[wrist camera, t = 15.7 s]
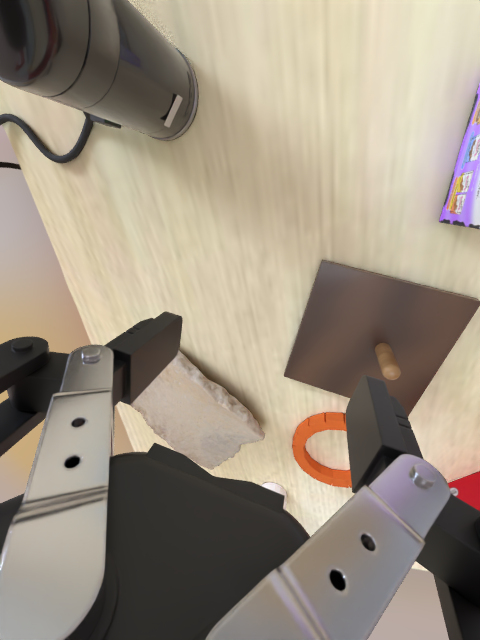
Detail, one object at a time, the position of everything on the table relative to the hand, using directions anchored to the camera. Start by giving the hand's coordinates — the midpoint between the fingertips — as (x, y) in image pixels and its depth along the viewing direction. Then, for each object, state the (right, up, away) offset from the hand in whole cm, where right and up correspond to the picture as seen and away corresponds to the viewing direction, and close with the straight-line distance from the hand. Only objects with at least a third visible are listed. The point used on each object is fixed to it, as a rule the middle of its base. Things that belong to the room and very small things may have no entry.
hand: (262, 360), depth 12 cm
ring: (+16, -20, +36) cm, 44 cm away
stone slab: (-9, -14, +41) cm, 44 cm away
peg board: (+17, -1, +27) cm, 32 cm away
